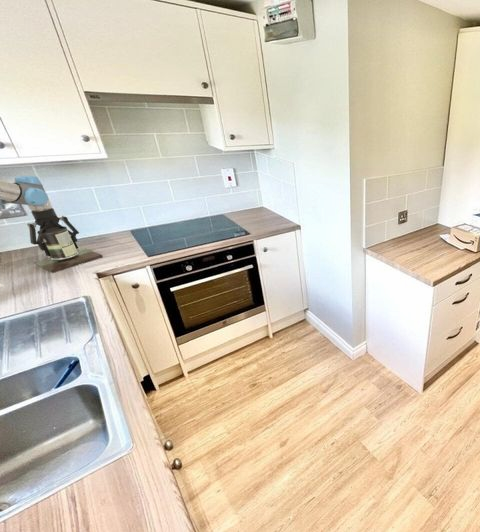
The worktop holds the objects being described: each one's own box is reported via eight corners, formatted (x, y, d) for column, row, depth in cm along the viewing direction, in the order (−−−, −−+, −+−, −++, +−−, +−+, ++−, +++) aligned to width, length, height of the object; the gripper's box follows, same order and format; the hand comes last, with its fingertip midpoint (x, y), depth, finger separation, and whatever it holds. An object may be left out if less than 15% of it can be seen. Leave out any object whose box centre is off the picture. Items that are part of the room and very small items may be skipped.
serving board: (52, 273, 151) (51, 270, 151) (36, 265, 157) (35, 262, 157) (102, 257, 168) (101, 254, 167) (86, 250, 174) (85, 248, 173)
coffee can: (52, 262, 157) (38, 235, 150) (49, 255, 162) (35, 229, 156) (80, 255, 164) (68, 229, 157) (76, 249, 169) (64, 224, 163)
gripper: (11, 217, 141) (36, 262, 151) (75, 204, 160) (93, 245, 170) (4, 214, 144) (28, 258, 154) (68, 202, 162) (86, 242, 173)
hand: (62, 251), depth 162 cm, fingers closed on coffee can, 10 cm apart
